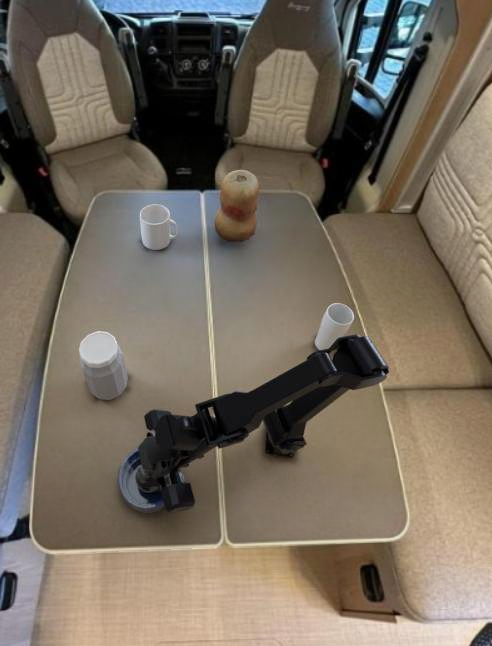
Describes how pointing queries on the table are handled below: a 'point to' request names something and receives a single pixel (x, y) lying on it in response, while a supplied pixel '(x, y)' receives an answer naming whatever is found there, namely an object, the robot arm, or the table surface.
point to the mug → (156, 226)
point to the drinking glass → (334, 325)
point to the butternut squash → (237, 207)
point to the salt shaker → (144, 477)
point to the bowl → (131, 489)
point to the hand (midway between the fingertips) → (141, 475)
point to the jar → (103, 365)
